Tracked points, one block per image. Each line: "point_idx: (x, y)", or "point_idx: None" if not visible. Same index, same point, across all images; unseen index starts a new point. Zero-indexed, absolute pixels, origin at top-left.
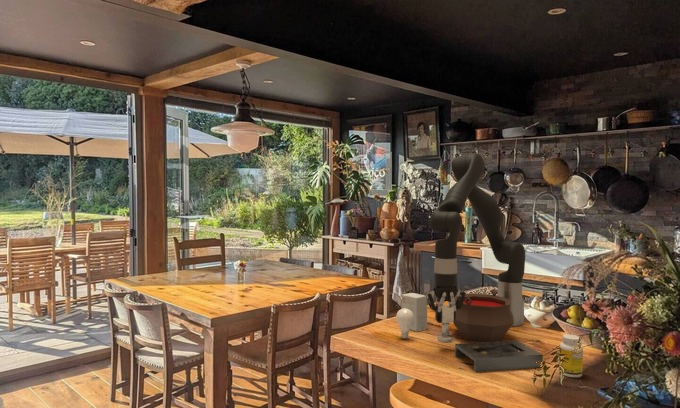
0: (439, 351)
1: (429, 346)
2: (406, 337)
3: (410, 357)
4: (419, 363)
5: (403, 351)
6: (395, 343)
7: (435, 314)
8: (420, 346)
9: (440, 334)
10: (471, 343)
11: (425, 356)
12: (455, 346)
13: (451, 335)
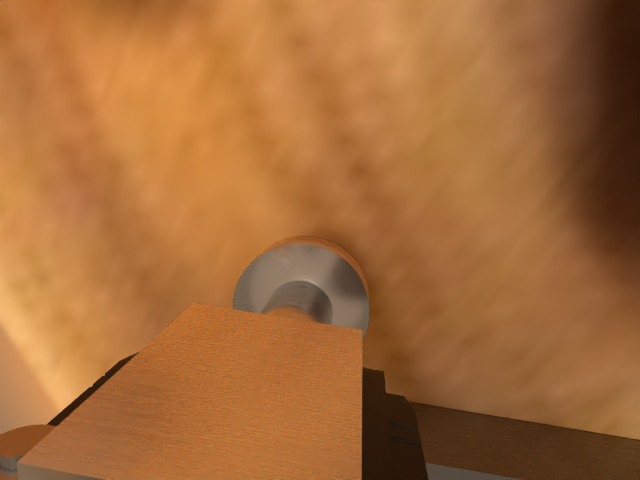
0: None
1: (245, 168)
2: None
3: (42, 317)
4: (61, 411)
5: (32, 208)
6: (24, 23)
7: (74, 405)
8: (181, 147)
9: (279, 259)
10: (431, 478)
11: (135, 332)
12: None
13: (361, 319)
